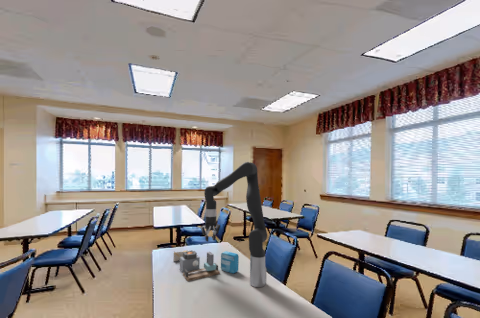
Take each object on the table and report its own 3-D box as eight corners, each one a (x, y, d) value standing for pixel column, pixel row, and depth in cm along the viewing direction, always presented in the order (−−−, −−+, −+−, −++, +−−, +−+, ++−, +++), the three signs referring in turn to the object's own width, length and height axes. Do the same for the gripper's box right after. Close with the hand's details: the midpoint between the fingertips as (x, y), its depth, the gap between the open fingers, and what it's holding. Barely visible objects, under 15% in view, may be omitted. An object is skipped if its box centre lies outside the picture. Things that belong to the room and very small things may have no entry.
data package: (220, 270, 162) (220, 252, 163) (224, 267, 166) (224, 250, 167) (234, 274, 156) (235, 255, 157) (238, 271, 160) (238, 254, 160)
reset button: (191, 255, 166) (191, 251, 167) (193, 256, 163) (193, 253, 163) (186, 256, 165) (186, 252, 165) (188, 257, 161) (188, 254, 162)
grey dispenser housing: (195, 265, 170) (195, 249, 171) (199, 269, 163) (200, 253, 164) (179, 268, 164) (179, 252, 165) (182, 272, 157) (183, 256, 157)
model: (188, 261, 179) (188, 250, 179) (173, 263, 174) (174, 252, 175) (187, 259, 182) (187, 249, 182) (173, 261, 177) (173, 251, 178)
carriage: (211, 265, 163) (212, 251, 163) (216, 269, 157) (216, 254, 157) (203, 267, 159) (204, 252, 160) (207, 271, 153) (208, 255, 154)
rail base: (213, 268, 165) (213, 261, 165) (219, 273, 156) (219, 266, 156) (182, 275, 153) (183, 268, 154) (187, 281, 145) (187, 273, 145)
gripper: (218, 213, 167) (217, 238, 166) (199, 215, 160) (198, 240, 159) (222, 215, 161) (222, 240, 160) (203, 217, 153) (202, 243, 152)
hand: (210, 240), depth 159 cm, fingers open, 4 cm apart
